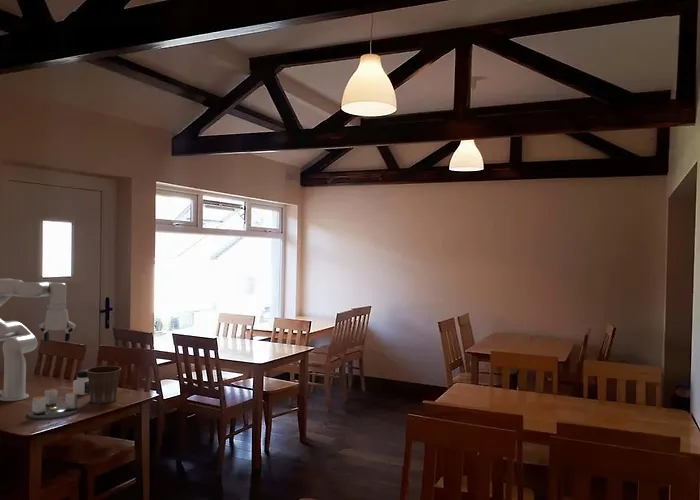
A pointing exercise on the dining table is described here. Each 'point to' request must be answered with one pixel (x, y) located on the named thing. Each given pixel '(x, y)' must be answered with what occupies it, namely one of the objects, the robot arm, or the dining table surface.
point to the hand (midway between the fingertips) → (56, 341)
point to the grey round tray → (53, 412)
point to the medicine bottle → (81, 383)
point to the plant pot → (103, 383)
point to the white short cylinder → (71, 401)
